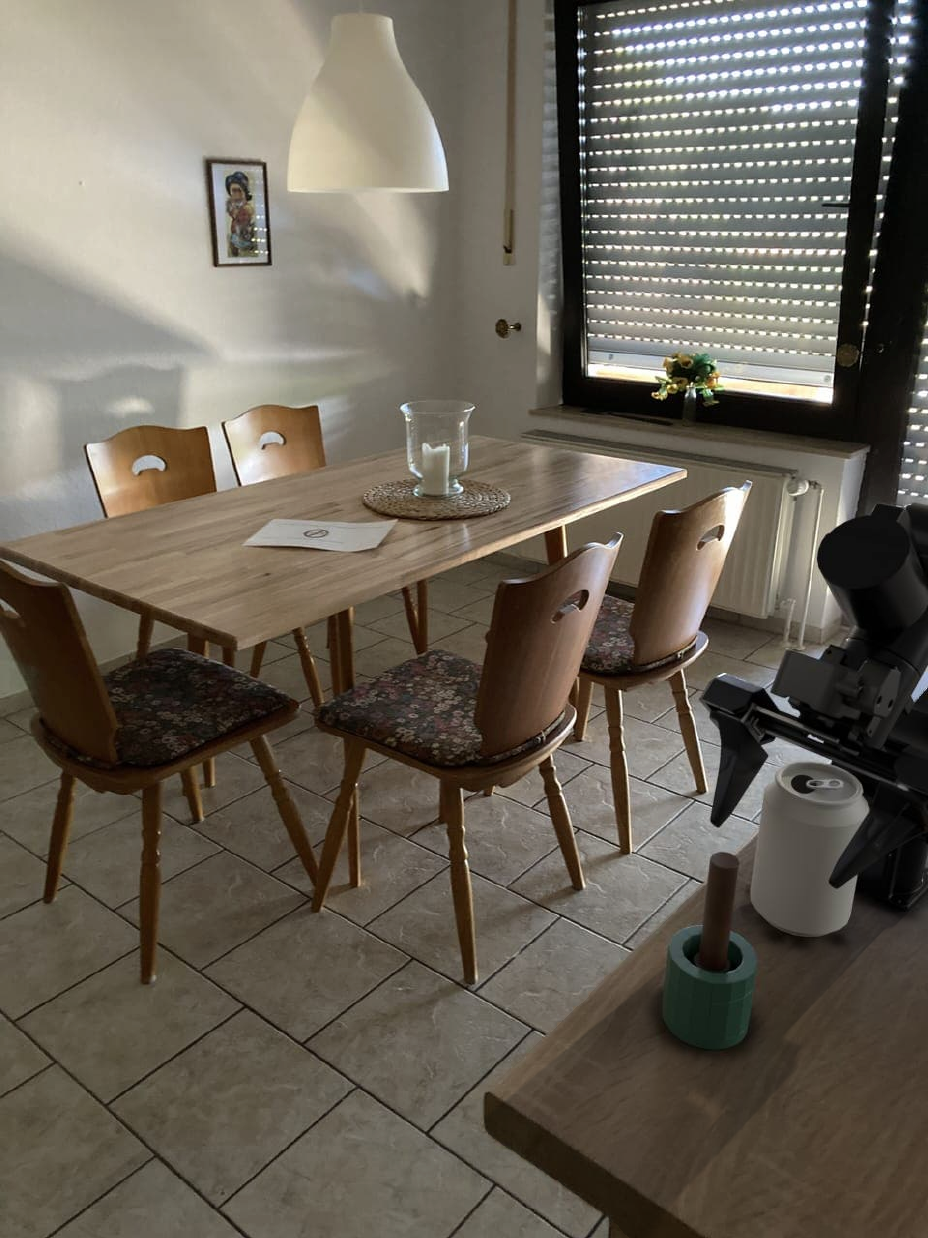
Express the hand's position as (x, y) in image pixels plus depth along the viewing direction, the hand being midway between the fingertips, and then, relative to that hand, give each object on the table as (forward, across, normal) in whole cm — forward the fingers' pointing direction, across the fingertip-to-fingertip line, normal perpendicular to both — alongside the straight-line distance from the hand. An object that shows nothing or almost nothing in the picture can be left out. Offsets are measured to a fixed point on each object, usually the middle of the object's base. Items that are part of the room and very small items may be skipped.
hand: (770, 854), depth 69 cm
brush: (+11, 0, +3) cm, 11 cm away
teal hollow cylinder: (+12, 0, +4) cm, 12 cm away
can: (+1, -2, +14) cm, 15 cm away
